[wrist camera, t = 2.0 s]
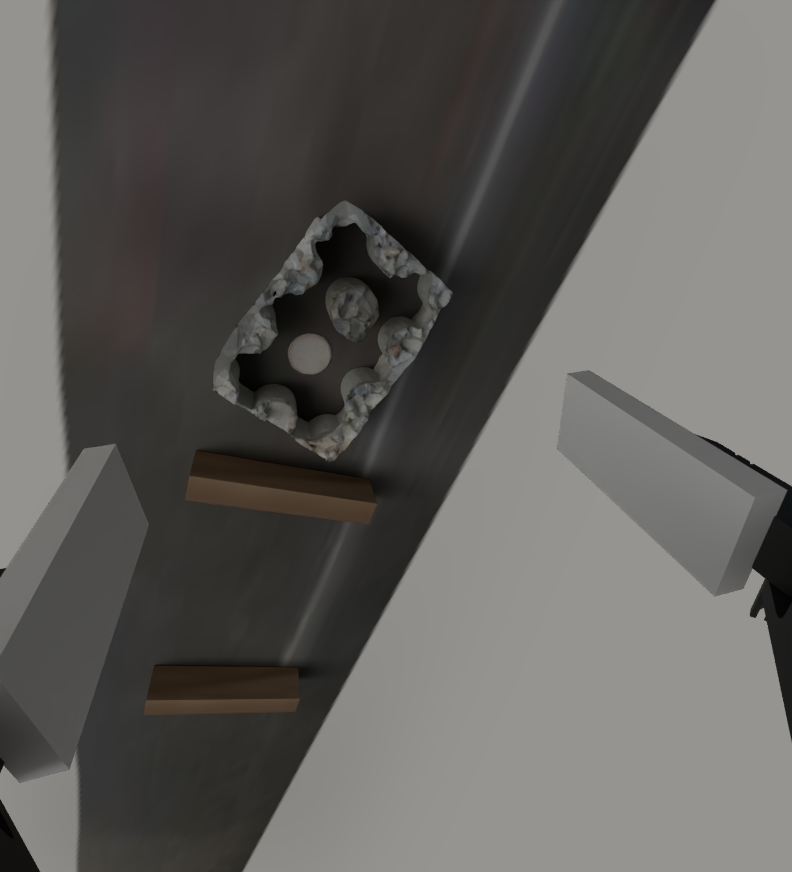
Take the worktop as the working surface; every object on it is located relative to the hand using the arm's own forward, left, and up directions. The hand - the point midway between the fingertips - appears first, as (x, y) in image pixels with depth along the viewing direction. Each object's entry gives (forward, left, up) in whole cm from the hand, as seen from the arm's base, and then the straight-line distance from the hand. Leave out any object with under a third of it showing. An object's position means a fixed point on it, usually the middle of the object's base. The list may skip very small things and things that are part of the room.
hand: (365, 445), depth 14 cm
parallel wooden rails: (+7, +16, -12) cm, 21 cm away
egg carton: (0, 0, -12) cm, 12 cm away
